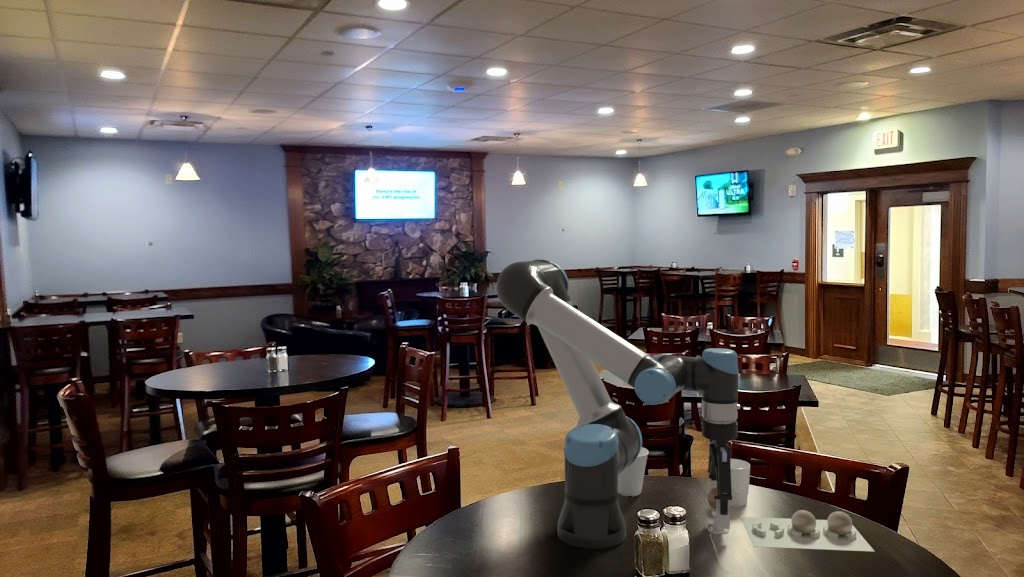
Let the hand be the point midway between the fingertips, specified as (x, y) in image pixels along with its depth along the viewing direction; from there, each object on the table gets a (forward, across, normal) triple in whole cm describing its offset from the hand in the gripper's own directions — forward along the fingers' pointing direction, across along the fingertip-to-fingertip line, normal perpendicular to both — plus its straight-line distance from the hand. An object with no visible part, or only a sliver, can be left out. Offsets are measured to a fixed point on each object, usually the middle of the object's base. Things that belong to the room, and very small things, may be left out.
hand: (719, 517), depth 161 cm
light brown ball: (-2, 0, 0) cm, 2 cm away
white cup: (+4, +18, -6) cm, 19 cm away
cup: (+4, +23, +19) cm, 30 cm away
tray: (+3, 0, -18) cm, 18 cm away
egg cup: (+3, 0, 0) cm, 3 cm away
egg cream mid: (+3, 0, -18) cm, 18 cm away
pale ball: (+3, 0, -26) cm, 26 cm away
